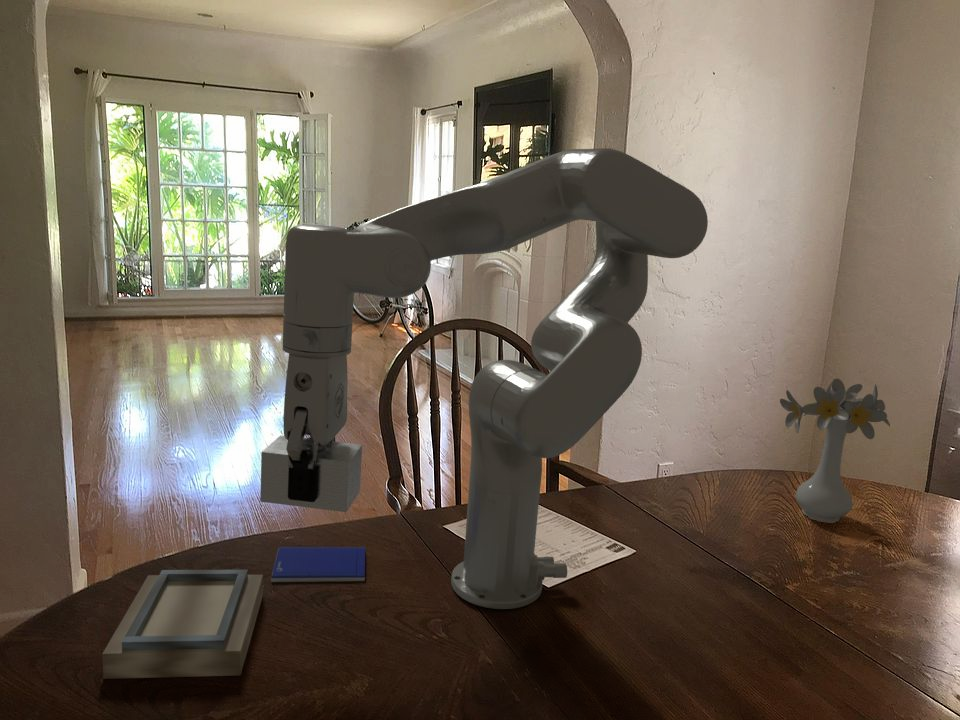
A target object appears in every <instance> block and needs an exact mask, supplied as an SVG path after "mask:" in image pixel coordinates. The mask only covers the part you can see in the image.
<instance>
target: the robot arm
mask: <svg viewBox="0 0 960 720" xmlns="http://www.w3.org/2000/svg"><path fill="white" fill-rule="evenodd" d="M578 220H579V221H580V220H582V221H589V222H595V236H596V239H595V240H596V248H595V254H594V259H593V262H592V264H591V267H590V268H589V270H588V271H587V273H586V274H585V275H584V276H583V277H582V279H581V280H580V281H579V282H578V283H577V284H576V285H575V286H574V287H573V288H572V289H571V290H570V291H569V292H568V293H567V294H566V295H565V296H564V297H563V298H562V299H561V300H560V301H559V302H558V303H557V304H556V306H555V307H554V308H553V309H552V310H550V312H548V314H547V315H546V316H544V318H543V319H542V320H541V321H540V322H539V323H538V325H537V326H536V328H535V329H534V331H533V334H532V337H531V342H530V348H531V351H532V355H533V357H534V358H535V359H536V361H537V362H538V363H539V364H540V365H541V366H542V367H544V368H545V369H546V370H549V373H547V374H545V373H544V372H542V371H540V370H538V369H536V368H534V367H532V366H530V365H528V364H526V363H523V362H520V361H518V360H517V361H516V360H511V359H500V360H495V361H492V362H490V363H488V364H486V365H484V366H483V367H482V368H481V369H480V370H479V371H478V372H477V374H476V376H475V377H474V378H473V381H472V383H471V386H470V389H469V394H468V418H469V426H470V427H469V428H470V441H471V443H470V447H471V449H470V466H469V468H470V469H469V471H470V472H469V482H468V496H467V497H468V498H467V507H466V509H467V510H466V512H467V513H466V523H465V525H466V526H465V539H464V553H463V561H462V562H460V563H459V564H456V566H455V567H454V568H453V570H452V572H451V576H450V577H451V578H450V584H451V587H452V589H453V591H454V592H455V593H456V595H457V596H459V597H460V598H461V599H462V600H465V601H466V602H468V603H469V604H472V605H475V606H477V607H481V608H482V607H483V608H488V609H492V610H493V609H494V610H511V609H512V610H514V609H519V608H522V607H525V606H529V605H530V604H532V603H534V602H535V601H536V600H537V599H538V598H539V597H540V596H541V595H542V592H543V582H544V580H545V579H546V578H553V579H565V578H567V577H568V567H567V563H560V562H559V563H555V559H554V556H542V557H540V556H538V555H537V554H535V548H536V538H537V537H536V536H537V535H536V534H537V525H538V516H539V514H538V513H539V505H540V504H539V503H540V496H541V495H540V493H541V484H542V475H543V474H542V473H543V459H551V458H555V457H557V456H561V455H562V454H565V452H567V451H569V450H570V449H571V448H573V447H574V446H575V445H576V444H577V443H579V441H580V440H581V439H582V438H583V437H584V436H586V434H587V433H588V432H589V431H590V430H591V429H592V428H593V427H594V426H595V424H597V422H598V421H599V420H600V419H601V418H602V417H603V416H604V415H605V414H606V413H607V412H608V411H609V410H610V409H611V407H612V406H613V405H614V404H615V403H616V402H617V401H618V400H619V399H620V397H621V396H622V395H623V394H624V393H625V392H626V391H627V389H629V387H630V385H631V384H632V383H633V381H634V380H635V379H636V378H635V377H637V374H638V371H639V368H640V367H641V362H642V358H643V357H642V356H643V345H642V342H641V341H642V340H641V338H640V336H639V335H638V334H639V333H637V331H636V329H634V327H633V326H632V325H631V324H630V323H629V322H630V321H631V320H632V319H633V318H634V316H635V315H636V314H637V312H638V311H639V310H640V308H641V307H642V306H643V303H644V301H645V298H646V296H647V293H648V285H649V284H648V283H649V281H648V280H649V261H648V260H649V259H648V258H649V256H653V257H658V258H664V259H680V258H682V257H686V256H688V255H690V254H692V253H693V252H694V251H695V250H697V249H698V247H699V246H700V245H701V244H702V242H703V241H704V239H705V237H706V234H707V232H708V224H709V221H708V213H707V210H706V208H705V205H704V203H703V202H702V200H701V199H700V197H698V195H696V194H695V193H694V192H693V191H692V190H690V189H689V188H688V187H686V186H684V185H682V184H681V183H679V182H677V181H675V180H673V179H671V178H670V177H669V176H666V175H664V174H663V173H661V172H660V171H658V170H656V169H654V168H653V167H652V166H650V165H647V164H646V163H644V162H643V161H640V160H639V159H637V158H635V157H633V156H632V155H629V154H628V153H625V152H624V151H620V150H617V149H613V148H607V147H606V148H604V147H603V148H574V149H572V148H571V149H567V150H563V151H560V152H557V153H554V154H550V155H548V156H546V157H544V158H541V159H538V160H535V161H533V162H531V163H528V164H525V165H523V166H521V167H518V168H516V169H513V170H511V171H509V172H506V173H504V174H500V175H498V176H496V177H492V178H490V179H487V180H484V181H482V182H480V183H479V182H478V183H476V184H473V185H470V186H466V187H463V188H461V189H460V188H459V189H456V190H454V191H452V192H451V191H450V192H449V193H446V194H443V195H439V196H436V197H433V198H429V199H425V200H423V201H420V202H416V203H413V204H411V205H407V206H405V207H401V208H398V209H396V210H394V211H391V212H389V213H386V214H383V215H381V216H378V217H376V218H373V219H371V220H368V221H367V222H363V223H361V224H359V225H358V226H356V227H354V228H353V229H352V230H349V229H347V228H344V227H341V226H335V225H334V226H332V225H324V224H323V225H322V224H297V225H293V226H292V227H290V229H289V230H288V231H287V234H286V237H285V254H284V255H285V256H284V257H285V258H284V285H283V286H284V289H283V290H284V291H283V294H284V296H283V324H282V347H281V348H282V350H283V352H285V353H287V354H288V361H287V369H286V378H285V389H284V403H283V436H284V437H285V438H286V440H287V441H288V443H287V448H286V449H287V452H288V455H289V456H288V457H289V461H288V467H289V474H288V498H289V499H290V500H297V501H306V502H315V500H316V499H317V487H318V467H315V464H316V457H317V450H318V444H319V443H320V444H321V445H326V444H328V443H329V442H330V441H334V442H336V436H337V435H338V434H339V433H340V431H342V429H343V428H344V427H345V425H346V422H347V419H348V360H347V359H348V357H347V356H348V355H350V354H351V353H352V341H353V340H352V339H353V317H354V314H353V313H354V302H355V301H354V299H355V298H354V297H355V293H356V294H364V295H370V296H376V297H382V298H383V297H384V298H387V299H400V298H406V297H408V296H409V297H410V296H412V295H414V294H416V293H417V292H418V291H420V290H421V289H422V288H423V287H424V286H425V285H426V283H427V282H428V280H429V278H430V275H431V270H432V261H436V260H439V259H443V258H448V257H453V256H460V255H461V256H462V255H484V254H486V255H487V254H493V253H497V252H503V251H506V250H510V249H512V248H514V247H516V246H518V245H520V244H523V243H526V242H527V241H531V240H533V239H534V238H537V237H539V236H542V235H543V234H546V233H548V232H550V231H553V230H555V229H557V228H560V227H562V226H564V225H567V224H569V223H572V222H575V221H578ZM305 436H309V438H313V441H311V440H303V439H304V438H305ZM303 445H304V446H311V448H310V454H309V455H308V453H307V451H306V450H303Z"/></svg>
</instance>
